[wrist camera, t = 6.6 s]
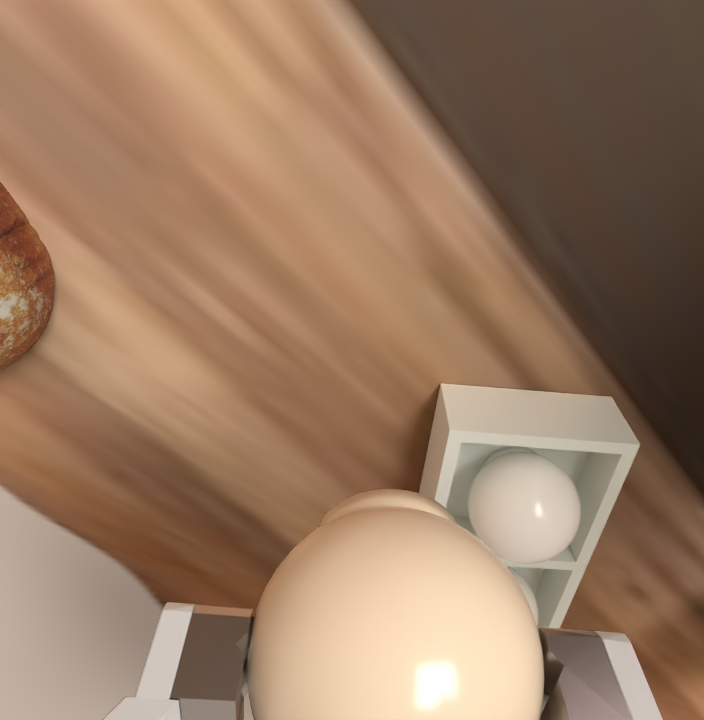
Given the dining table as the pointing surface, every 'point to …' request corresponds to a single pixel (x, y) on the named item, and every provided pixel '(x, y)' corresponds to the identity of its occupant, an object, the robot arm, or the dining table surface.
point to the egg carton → (547, 438)
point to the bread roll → (21, 282)
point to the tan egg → (393, 622)
